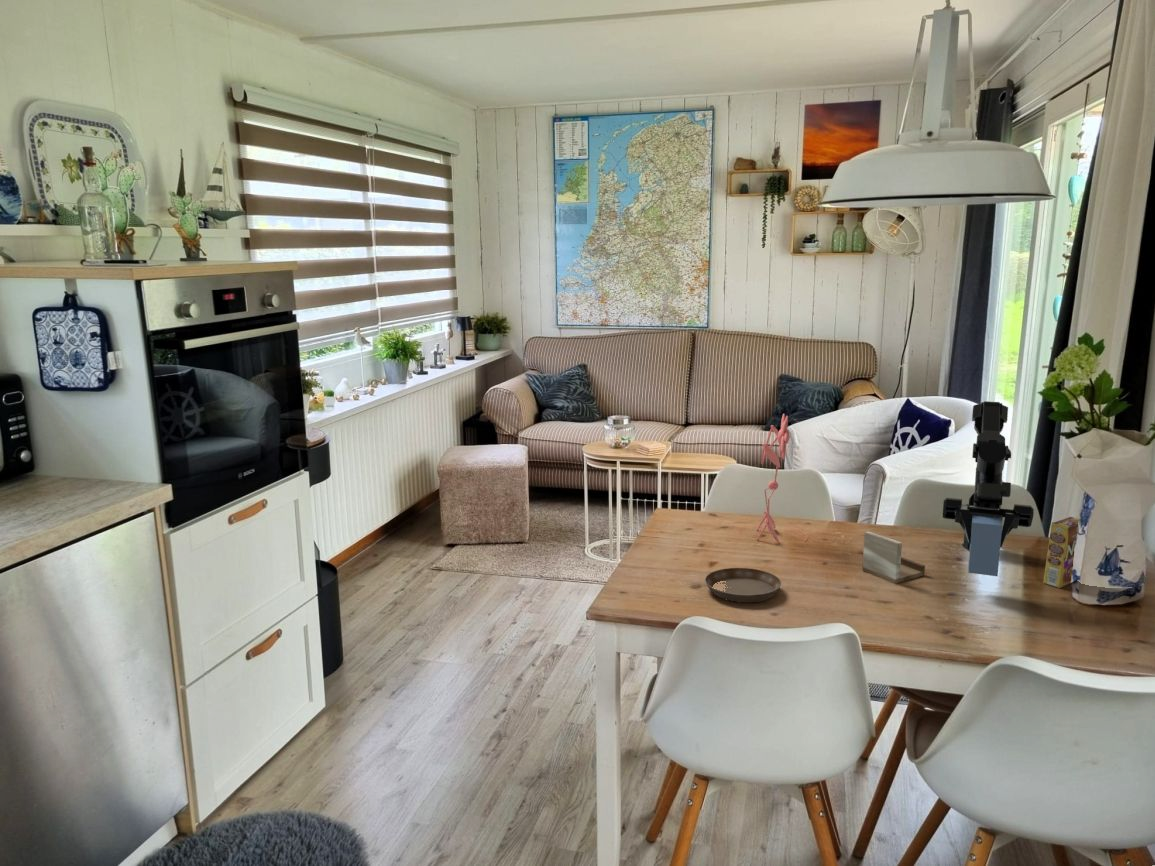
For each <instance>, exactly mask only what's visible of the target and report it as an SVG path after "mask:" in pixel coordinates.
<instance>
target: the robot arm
mask: <svg viewBox="0 0 1155 866" xmlns="http://www.w3.org/2000/svg"><path fill="white" fill-rule="evenodd" d="M971 413H972V414H971V422H974V424H973V425H974V426H973V427H974V428H973V429H974V431H975V432H976V434H977V436H976V442H975V443H973V445H972V454H971V455H972V457H971V459H974V462H975V463H976V468H975V477H974V478H975V479H974V481H975V482H974V492H973V493H972V494H971V496H970V497H969V499H968V503H963V499H962V498H953V497H945V498H944V499H943V506H942V518H943V519H948V520H954V522H955V523H958V524H959V525H960V527H961V529H962V530H963V532H964V533H963V534H964V535H963V543H961V545H962V546H963V547H964V548H965V549H967V550H968V551H970V544H971V527H972V515H975V516H985V517H995V518H1001V520H1002V521H1003V523H1002V534H1001V545H1000V548H1002V547H1003V545H1004V543H1005V541H1006V539H1007V538H1008V535H1009V534H1010V532H1011V531H1012V530H1014V529H1015V530H1016V529H1018V527H1023V528H1030V527H1032V524H1033V520H1034V511H1035V510H1034V507H1033V506H1032V505H1027V504H1019V503H1018V504H1017V503H1014V504H1013V509H1009V508H1002V505H1003V498H1010V496H1011V489H1012V482H1007V481H1003V471H1004V469H1005V462H1006V461H1009V459H1012V451H1011V449H1009V445H1006V437H1005V436H1004V435H1003V434H1001V433H1002V431H1003V429H1004V426H1005V424H1007V422H1008V417H1009V416H1008V413H1009V407H1008V406H1006V405H1004V404H1003V403H1002V402H999V401H986V400H985V401H981V402H980V403H978V404H974V405H973V406H972V412H971Z"/></svg>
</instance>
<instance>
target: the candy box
mask: <svg viewBox="0 0 1155 866" xmlns="http://www.w3.org/2000/svg"><path fill="white" fill-rule="evenodd" d="M1079 519H1080V518H1078V517H1073V516H1069V517H1066V518H1064V519H1063V518H1062V519H1061V520H1058V521H1055V522H1051V523H1050V532H1049V539H1048V540H1049V541H1048V546H1047V555H1046V562H1045V569H1044V575H1043V584H1045V585H1049V586H1052V587H1054V588H1058V589H1060V588H1063V587H1066V586H1068V585H1070V584H1071V583H1070V581H1071V574H1072V567H1073V558H1074V548H1075V540H1076V535H1077V529H1078V521H1079Z"/></svg>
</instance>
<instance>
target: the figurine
mask: <svg viewBox="0 0 1155 866" xmlns="http://www.w3.org/2000/svg"><path fill="white" fill-rule="evenodd" d="M780 421H781V422H780V429H779V430H778V429H777V428H776V427H775V425H773V424H771V425H770V430H769V433H768V436H767V439H766V442H765V443H763V444H762V445H761V447H762V448H761V449H762V450H761V460H760V464H761V465H764V462H765V457H766V458H767V459H768V460H769V461H770V462H771V463H772V464H774V465H775V475H774V480H770V482H769V483H768V487H767V488H765V489H764V498H765V505H766V506H765V507H766V510H764V511H763V514H764V517H763V518H762V519H761V521H760V523H759V524H758V525H757V528H756V529H755V530H756V531H759V530H760V528H761V526H762V524H763V523H764V522H765V525H764V526H763V528H762V530H761V531H760V533H759V534H758V536H757V538H756V541H757V542H758V541H759V540H760V538H761V537H762V536H763V533H764V531H765V530H766V528H767V530H768V531H769V533H770V534H771V536H772V537H773V539H775V540H776V542H777V543H778V544H780V540H779V537H778V535H777V533H776V531H775V529H776V523H775V521H774V519H773V517H772V515H770V499H771V497H772V495H773V494H774V492H775V491H776V490H777V489H778V488H779V483H778V482H777V476H778V471H779V469H781V462H780V459H779V458H782V460H785V458H786V453H787V452H786V451H787V444H788V443H789V441H790V437H791V436H790V430H789V429H788V426H789V425H788V424H789V423H788V422H789V416H788V415H785V413H783V414H782V417H781V420H780ZM772 432H773V433H774V434H775V436H776V437H775V439H773V441H772V443H771V444H770V445H769V446H768V444H769V441H770V438H771V435H772ZM776 442H777V443H778V444H779V448H778V455H777V454H776V452H775V451H774V450H773V449H772V447H773V446H774V444H775V443H776ZM778 456H779V458H778ZM767 490H771V493H770V495H769V496H768V499H767ZM789 528H793V529H796V530H798V531H800V532H802V533H803V534H805V532H804V530H803V529H798V528H797V527H793V526H790V525H789ZM806 537H807V538H809V536H806ZM807 541H808V539H807V540H806V541H804V543H806V542H807ZM753 547H756V545H753ZM757 547H759V548H760V547H761V546H760V545H757Z"/></svg>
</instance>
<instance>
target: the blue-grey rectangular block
mask: <svg viewBox="0 0 1155 866" xmlns="http://www.w3.org/2000/svg"><path fill="white" fill-rule="evenodd" d="M1002 529H1003V520H1001V518H995V517H985V516H975V515H972V527H971V544H970V550H968V552H969V555H968V563H967V564H968V570H967V571H968V574H974V575H983V576H990V577H991V576H992V577H998V575H999V566H1000V553H1001V547H1000V545H1001V534H1002Z"/></svg>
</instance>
